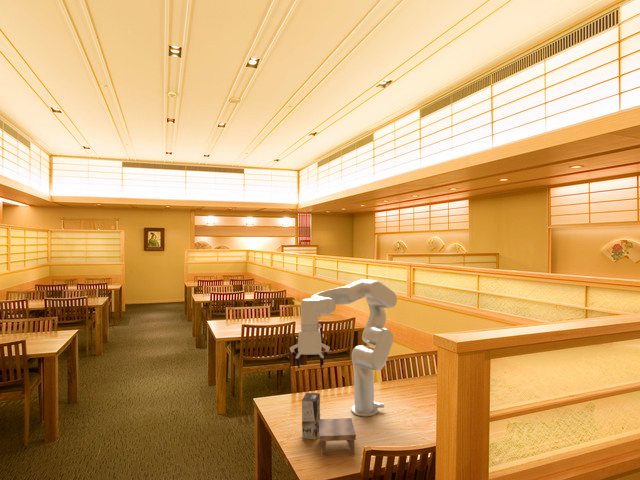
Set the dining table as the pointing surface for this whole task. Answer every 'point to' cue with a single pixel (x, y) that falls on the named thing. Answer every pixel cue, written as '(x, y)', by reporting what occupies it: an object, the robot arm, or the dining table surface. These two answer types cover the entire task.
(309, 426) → the coffee box
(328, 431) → the stool
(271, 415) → the dining table surface
